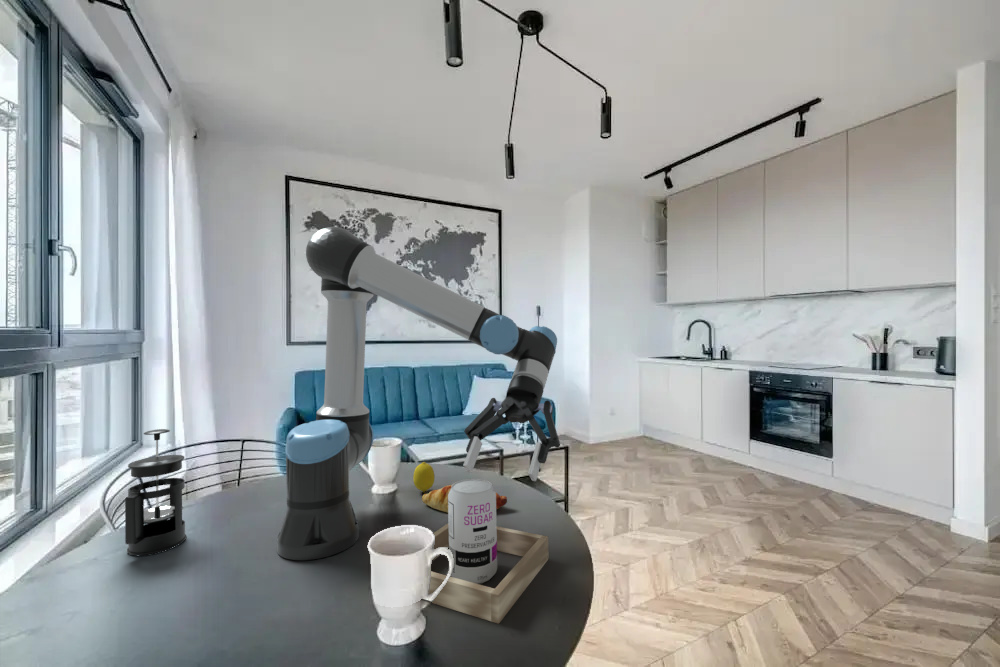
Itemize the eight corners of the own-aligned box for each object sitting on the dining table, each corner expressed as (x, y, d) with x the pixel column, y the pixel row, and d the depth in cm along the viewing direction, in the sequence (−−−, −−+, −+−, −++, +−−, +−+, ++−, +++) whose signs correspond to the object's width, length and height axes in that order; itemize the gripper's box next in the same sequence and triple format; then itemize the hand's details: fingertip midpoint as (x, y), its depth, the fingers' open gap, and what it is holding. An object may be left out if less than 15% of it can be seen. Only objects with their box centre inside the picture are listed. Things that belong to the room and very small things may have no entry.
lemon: (430, 496, 112) (429, 465, 112) (410, 495, 113) (409, 464, 113) (437, 489, 117) (437, 459, 117) (418, 488, 118) (417, 458, 118)
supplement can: (471, 556, 80) (470, 475, 81) (506, 571, 75) (505, 483, 75) (439, 575, 74) (437, 487, 74) (474, 592, 69) (473, 497, 69)
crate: (388, 589, 70) (388, 564, 70) (455, 537, 88) (455, 518, 88) (498, 623, 61) (498, 595, 61) (548, 558, 79) (548, 536, 79)
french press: (156, 533, 93) (156, 425, 93) (199, 532, 93) (198, 424, 93) (105, 561, 81) (104, 437, 81) (154, 560, 81) (153, 436, 81)
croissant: (418, 524, 103) (411, 500, 100) (430, 491, 112) (424, 468, 109) (506, 528, 99) (502, 503, 96) (511, 493, 108) (507, 469, 105)
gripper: (586, 397, 92) (566, 491, 79) (483, 393, 103) (450, 475, 90) (579, 374, 88) (556, 470, 74) (471, 372, 99) (435, 455, 85)
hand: (498, 473), depth 82 cm, fingers open, 13 cm apart
